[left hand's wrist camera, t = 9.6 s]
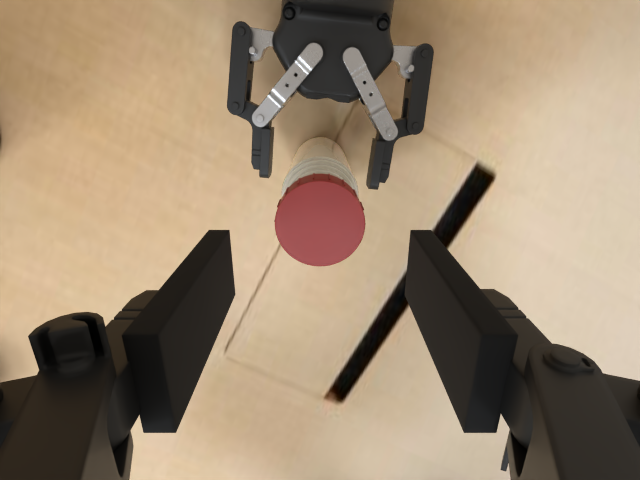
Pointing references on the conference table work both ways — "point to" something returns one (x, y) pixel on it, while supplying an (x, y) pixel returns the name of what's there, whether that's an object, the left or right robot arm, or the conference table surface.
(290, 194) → the cap
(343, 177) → the bottle
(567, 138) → the conference table surface
